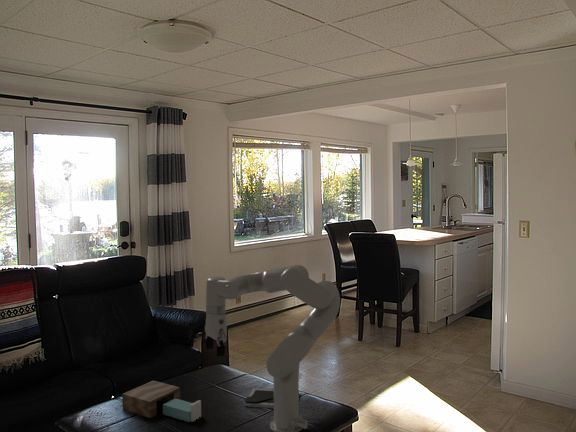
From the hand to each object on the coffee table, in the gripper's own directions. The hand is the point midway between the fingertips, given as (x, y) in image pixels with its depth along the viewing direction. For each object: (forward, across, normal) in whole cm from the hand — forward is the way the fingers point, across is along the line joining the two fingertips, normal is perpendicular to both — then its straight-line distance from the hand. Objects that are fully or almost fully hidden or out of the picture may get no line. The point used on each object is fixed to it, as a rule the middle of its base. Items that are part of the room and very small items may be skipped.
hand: (214, 352), depth 192 cm
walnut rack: (+28, +26, +16) cm, 41 cm away
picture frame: (+27, +1, -28) cm, 39 cm away
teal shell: (+27, +10, +9) cm, 30 cm away
